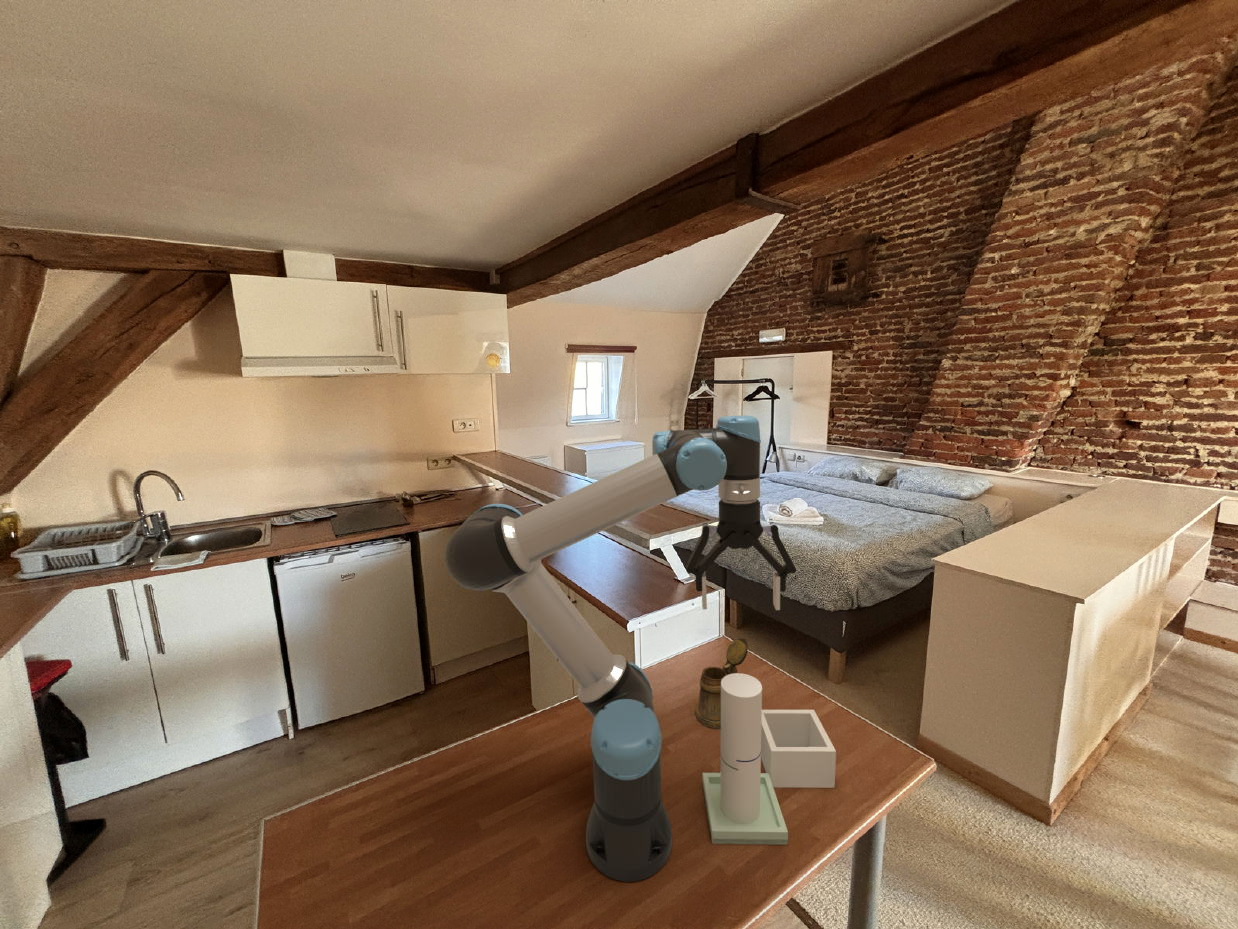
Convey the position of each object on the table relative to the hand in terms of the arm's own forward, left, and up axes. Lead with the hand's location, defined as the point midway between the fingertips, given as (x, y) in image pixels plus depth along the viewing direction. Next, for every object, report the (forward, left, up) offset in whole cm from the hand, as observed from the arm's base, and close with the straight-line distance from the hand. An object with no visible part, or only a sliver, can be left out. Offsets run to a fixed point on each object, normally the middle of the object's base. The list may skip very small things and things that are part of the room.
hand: (740, 606), depth 95 cm
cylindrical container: (-1, -9, -36) cm, 37 cm away
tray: (-1, -9, -37) cm, 38 cm away
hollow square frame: (+12, +3, -37) cm, 39 cm away
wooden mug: (0, +19, -37) cm, 41 cm away
